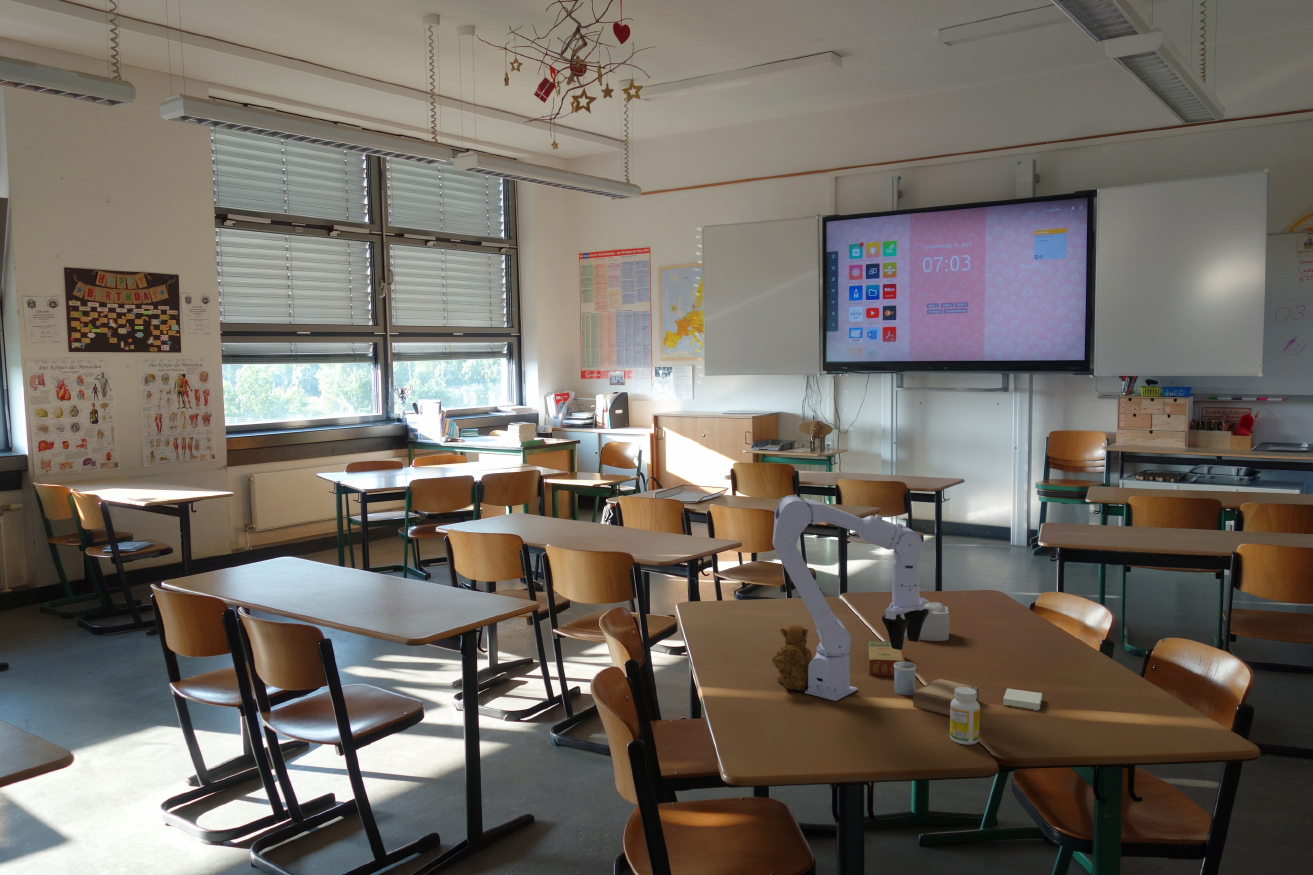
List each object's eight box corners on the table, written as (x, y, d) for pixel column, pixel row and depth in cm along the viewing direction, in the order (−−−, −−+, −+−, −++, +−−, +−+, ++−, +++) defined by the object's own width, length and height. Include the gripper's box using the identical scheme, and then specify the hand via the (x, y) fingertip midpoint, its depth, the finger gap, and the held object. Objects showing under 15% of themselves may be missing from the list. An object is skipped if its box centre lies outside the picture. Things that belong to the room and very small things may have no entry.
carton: (868, 676, 215) (868, 658, 215) (867, 655, 231) (867, 638, 231) (905, 678, 213) (905, 660, 213) (901, 657, 229) (901, 640, 229)
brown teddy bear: (822, 677, 214) (823, 621, 213) (813, 697, 200) (813, 637, 200) (779, 673, 217) (780, 617, 216) (767, 692, 204) (767, 633, 203)
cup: (909, 696, 200) (909, 669, 200) (889, 692, 204) (889, 665, 203) (919, 691, 204) (919, 664, 204) (899, 686, 207) (900, 660, 207)
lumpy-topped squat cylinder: (949, 641, 241) (949, 609, 240) (897, 638, 245) (897, 606, 244) (947, 631, 251) (948, 599, 250) (898, 627, 255) (898, 596, 254)
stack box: (954, 716, 189) (954, 701, 189) (913, 706, 195) (913, 691, 195) (978, 700, 198) (978, 686, 198) (938, 691, 204) (938, 677, 204)
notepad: (1039, 712, 192) (1039, 703, 192) (1003, 707, 195) (1003, 698, 195) (1041, 702, 198) (1042, 693, 198) (1006, 697, 201) (1007, 688, 201)
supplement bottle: (956, 745, 174) (957, 695, 174) (945, 734, 180) (945, 686, 179) (984, 744, 175) (985, 694, 174) (971, 733, 180) (972, 685, 179)
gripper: (907, 592, 194) (906, 656, 195) (938, 580, 205) (937, 641, 206) (877, 587, 199) (876, 649, 200) (908, 576, 210) (907, 635, 211)
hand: (905, 644), depth 203 cm, fingers open, 7 cm apart
